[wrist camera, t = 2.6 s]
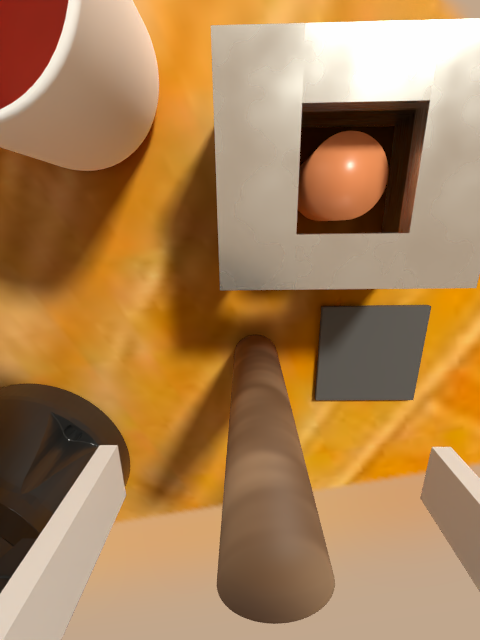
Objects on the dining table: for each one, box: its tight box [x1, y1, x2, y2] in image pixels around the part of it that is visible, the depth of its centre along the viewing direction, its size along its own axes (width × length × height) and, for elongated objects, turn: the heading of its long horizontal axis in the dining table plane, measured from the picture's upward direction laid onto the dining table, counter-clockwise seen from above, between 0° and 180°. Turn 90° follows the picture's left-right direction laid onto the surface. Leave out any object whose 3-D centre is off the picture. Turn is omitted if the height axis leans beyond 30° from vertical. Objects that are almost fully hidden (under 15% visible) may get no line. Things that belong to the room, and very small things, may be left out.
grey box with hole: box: [211, 19, 480, 290], centre depth 16 cm, size 12×10×8 cm
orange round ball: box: [297, 131, 388, 221], centre depth 16 cm, size 4×4×4 cm
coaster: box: [315, 305, 431, 400], centre depth 23 cm, size 8×8×1 cm
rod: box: [217, 335, 335, 624], centre depth 16 cm, size 3×3×16 cm
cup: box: [0, 0, 159, 171], centre depth 14 cm, size 10×10×10 cm
